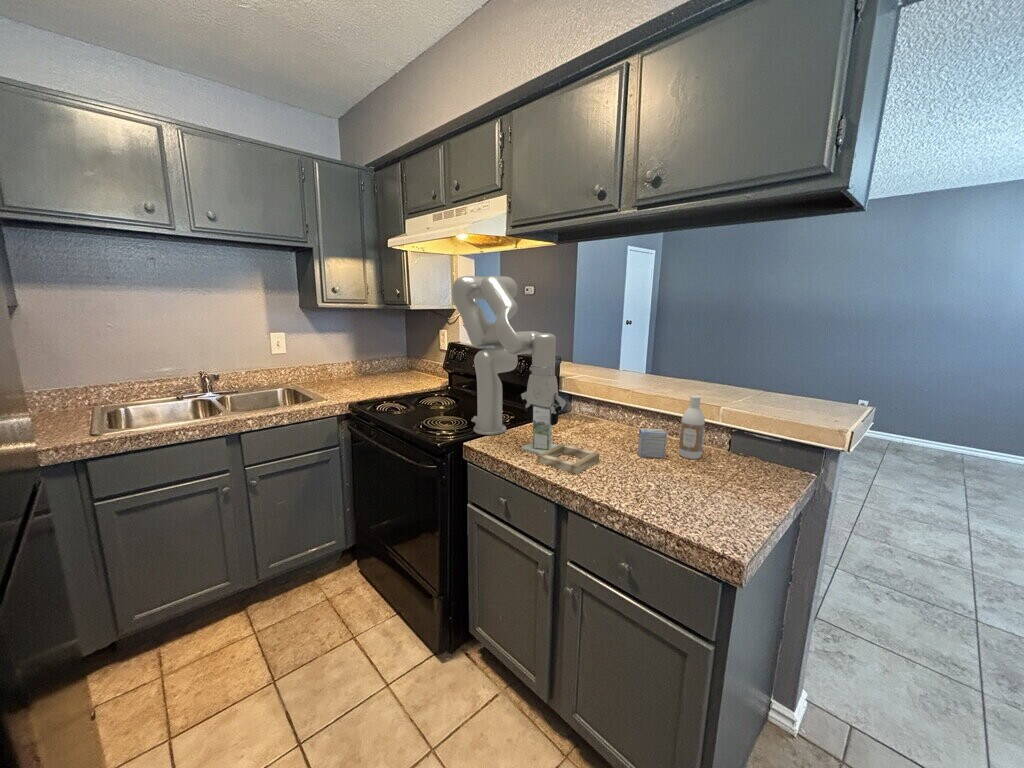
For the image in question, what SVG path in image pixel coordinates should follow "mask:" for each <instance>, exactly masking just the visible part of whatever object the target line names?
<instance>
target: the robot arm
mask: <svg viewBox="0 0 1024 768" xmlns="http://www.w3.org/2000/svg"><path fill="white" fill-rule="evenodd" d="M451 289H452V290H451V295H452V300H453V304H454V307H455V308H456V310H457V312H458V313H459V315H460V318H461V320H462V323H463V325H464V328H465V331H466V334H467V336H468V339H469V341H470V344H471V345H472V346H473V347H474V348H476V349H481V350H479V351H478V352H477V353H476V354H475V356H474V359H473V365H474V369H475V374H476V375H475V376H476V390H477V392H476V393H477V400H476V402H477V404H476V405H477V410H476V411H477V413H476V414H477V415H474V416H473V417H472V418H471V422H472V423H474V424H475V425H474V426H473V432H475V434H478V435H483V436H495V435H501V434H504V433H505V432H506V431H507V426H506V425H504V424H503V383H502V381H501V379H500V377H499V375H498V374H501V373H507V372H511V371H514V370H515V369H516V368H517V365H518V364H519V361H518V360H519V359H518V356H520V355H527V354H528V355H530V354H532V355H531V365H530V366H529V371H531V373H530V374H529V377H528V381H527V385H526V391H524V392H523V393H521V394H520V396H521V399H522V402H523V405H524V406H525V407H524V408H525V409H526V420H527V421H530V420H533V407H534V406H535V405H536V406H541V407H546V408H549V407H550V409H551V411H552V414H551V425H552V426H555V425H558V422H559V413H560V412H561V411H562V410H563V409H564V407H565V405H566V404H567V401H566V400H565V399H563V397H561V396H560V395H559V386H558V385H559V384H558V379H557V376H556V375H555V374H556V373H555V372H556V347H557V346H556V345H557V343H556V342H557V337H556V335H554V334H553V333H549V332H547V333H545V332H539V331H536V330H530V331H528V330H526V331H524V330H523V331H515V329H514V328H513V327H512V325H511V323H510V322H509V320H510V319H512V318H513V317H514V316H515V315H516V313H517V311H518V307H519V306H518V303H517V301H515V299H514V298H516V296H517V294H518V285H517V282H516V281H515V280H514V279H513V278H512V277H510V276H504V275H503V276H500V275H489V276H479V275H478V276H477V275H464V276H460V277H458V278H456V279H455V280H454V282H453V284H452V287H451ZM474 300H485V302H486V303H487V305H488V306H489V308H490V309H491V311H492V312H493V314H494V316H495V322H493V321H492V322H491V321H490V322H489V321H488V320H487V318H486V316H485V314H484V310H483V309H482V308H481V306H480V305H479V304H478V303H476V301H474ZM483 348H485V349H483ZM558 403H559V404H558Z"/></svg>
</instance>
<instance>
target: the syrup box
mask: <svg viewBox="0 0 1024 768" xmlns="http://www.w3.org/2000/svg"><path fill="white" fill-rule="evenodd" d="M532 407H533V418H532V442H533V448H534V449H544V450H549V448H550V447H551V444H553V443H552V442H553V441H552V438H553V437H552V436H553V434H552V433H553V425H551V414H552V413H553V412H552V411H551V409H550V407H549V408H546V407H541V406H536V405H533V406H532Z"/></svg>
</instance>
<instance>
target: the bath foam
mask: <svg viewBox="0 0 1024 768" xmlns="http://www.w3.org/2000/svg"><path fill="white" fill-rule="evenodd" d="M700 405H701V396H699V395H690V400H689V407H688V408H687V409H686V410H685V412H684V413H683V414H682V417H681V423H680V432H679V445H678V454H679V456H680V457H682V458H683V459H688V460H698V459H700V458H701V457H702V453H703V447H704V446H703V444H704V434H705V428H706V427H705V425H706V421H705V420H706V419H705V416H704V413H703V411H702V410H701V408H700Z"/></svg>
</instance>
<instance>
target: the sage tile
mask: <svg viewBox="0 0 1024 768" xmlns="http://www.w3.org/2000/svg"><path fill="white" fill-rule="evenodd" d="M558 445H559V444H555V443H552V444H551V447H550V448H549V449H551V448H553V447H556V446H558ZM520 450H521V451H524V450H525V452H527V451H528V453H531V452H532V453H531V454H534V455H538V454H541V453H543V452H545V451H547V450H544V449H534V448H533V441H532V442H530V443H528V444H526V445H524V446H521V447H520Z"/></svg>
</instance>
